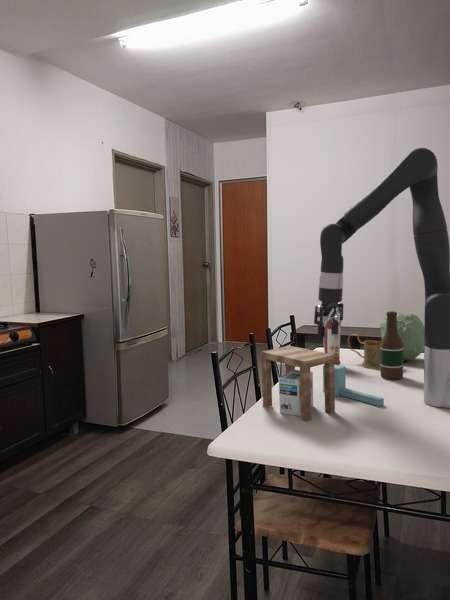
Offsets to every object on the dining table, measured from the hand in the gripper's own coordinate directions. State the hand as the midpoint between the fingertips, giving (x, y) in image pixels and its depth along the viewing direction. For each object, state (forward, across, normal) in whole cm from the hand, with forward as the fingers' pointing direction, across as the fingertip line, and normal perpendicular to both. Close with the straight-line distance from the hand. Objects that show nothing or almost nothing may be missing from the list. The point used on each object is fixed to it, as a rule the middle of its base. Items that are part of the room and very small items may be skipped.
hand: (328, 335), depth 153 cm
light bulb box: (+20, -20, -2) cm, 28 cm away
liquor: (+20, +32, +16) cm, 40 cm away
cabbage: (+18, +57, -3) cm, 60 cm away
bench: (+19, -19, -2) cm, 27 cm away
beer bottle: (+18, +29, -10) cm, 36 cm away
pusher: (+18, 0, -10) cm, 21 cm away
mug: (+19, +42, +4) cm, 46 cm away
